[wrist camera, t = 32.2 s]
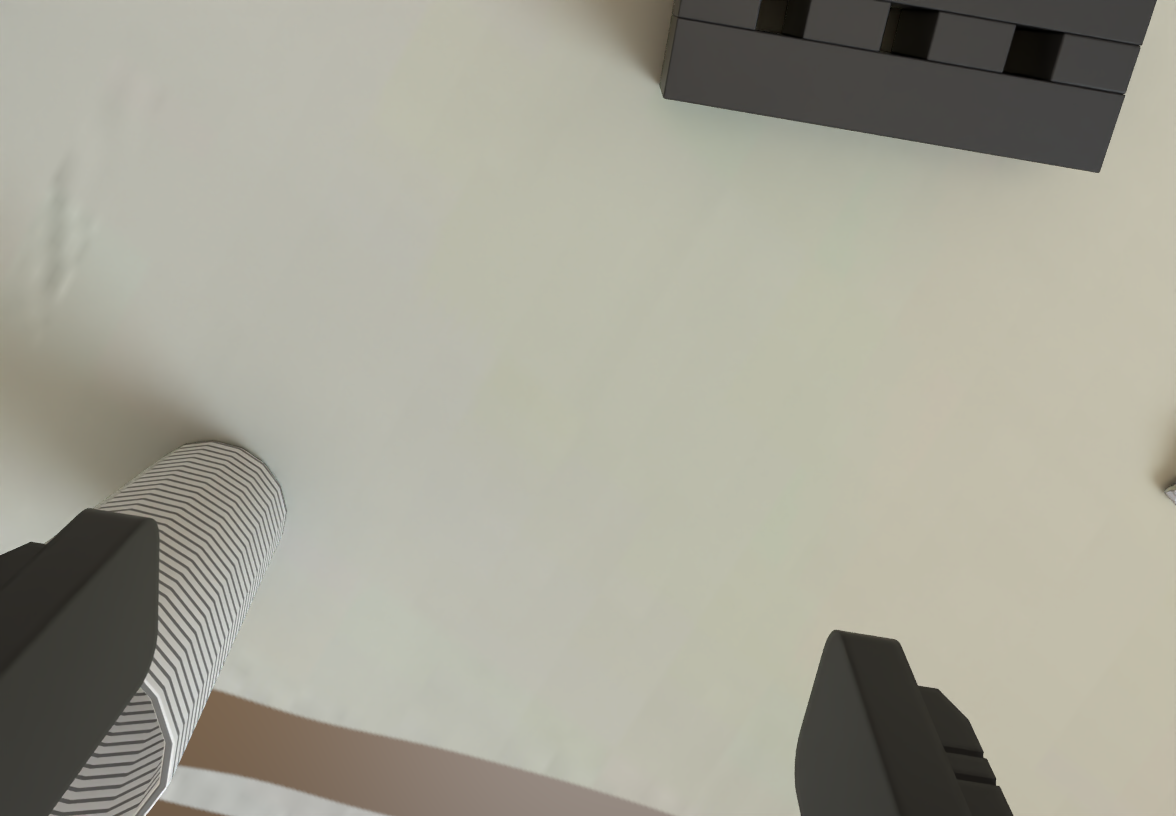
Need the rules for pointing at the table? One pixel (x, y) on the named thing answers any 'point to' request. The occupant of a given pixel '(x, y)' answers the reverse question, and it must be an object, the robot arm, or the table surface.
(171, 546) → the cup
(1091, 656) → the table surface
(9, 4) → the table surface
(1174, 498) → the caliper
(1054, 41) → the holder
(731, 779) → the table surface
